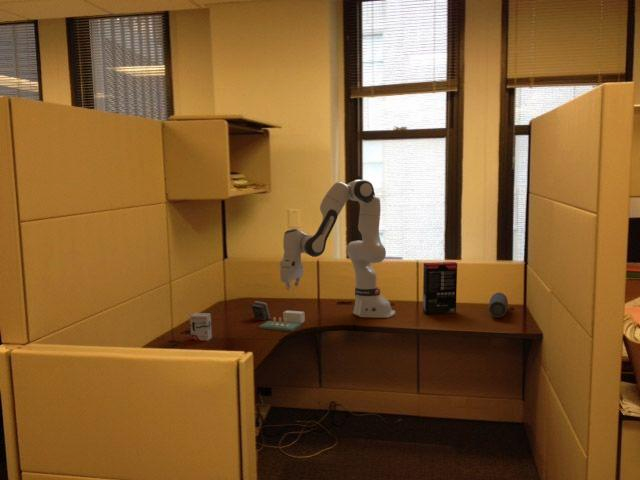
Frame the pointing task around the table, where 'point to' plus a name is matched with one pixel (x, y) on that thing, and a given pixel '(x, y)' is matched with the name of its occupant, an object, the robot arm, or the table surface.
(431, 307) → the graphics card box
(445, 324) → the table surface
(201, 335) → the ink box
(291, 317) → the block
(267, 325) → the header board
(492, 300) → the bluetooth speaker
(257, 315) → the electrical switch
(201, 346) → the table surface
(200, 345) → the table surface
